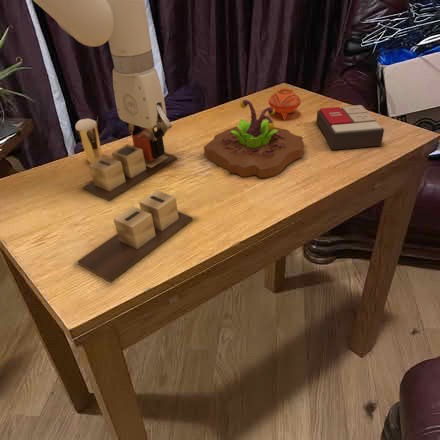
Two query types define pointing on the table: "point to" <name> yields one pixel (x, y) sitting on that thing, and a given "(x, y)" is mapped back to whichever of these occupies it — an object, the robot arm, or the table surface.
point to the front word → (136, 235)
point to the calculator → (349, 127)
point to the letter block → (144, 143)
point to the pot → (284, 101)
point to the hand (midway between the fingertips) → (150, 152)
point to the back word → (123, 171)
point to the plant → (255, 146)
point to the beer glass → (89, 139)
